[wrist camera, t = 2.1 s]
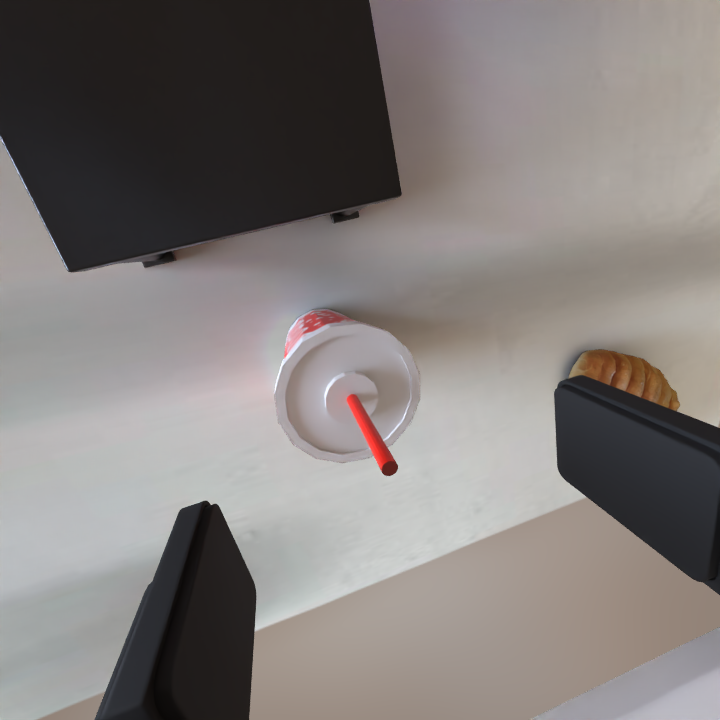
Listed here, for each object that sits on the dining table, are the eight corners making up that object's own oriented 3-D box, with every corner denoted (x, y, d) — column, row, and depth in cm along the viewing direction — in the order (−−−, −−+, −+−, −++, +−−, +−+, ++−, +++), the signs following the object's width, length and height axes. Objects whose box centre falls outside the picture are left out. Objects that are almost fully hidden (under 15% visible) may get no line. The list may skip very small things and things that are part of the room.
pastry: (542, 396, 28) (581, 417, 25) (591, 324, 27) (639, 335, 24) (608, 439, 31) (652, 462, 28) (654, 376, 30) (705, 392, 27)
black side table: (-4, -83, 14) (-308, -454, 7) (289, -107, 16) (304, -420, 9) (146, 267, 19) (65, 277, 12) (357, 217, 21) (405, 197, 13)
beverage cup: (329, 275, 21) (417, 311, 8) (385, 348, 24) (522, 465, 11) (252, 338, 21) (220, 472, 8) (315, 405, 24) (368, 592, 11)
